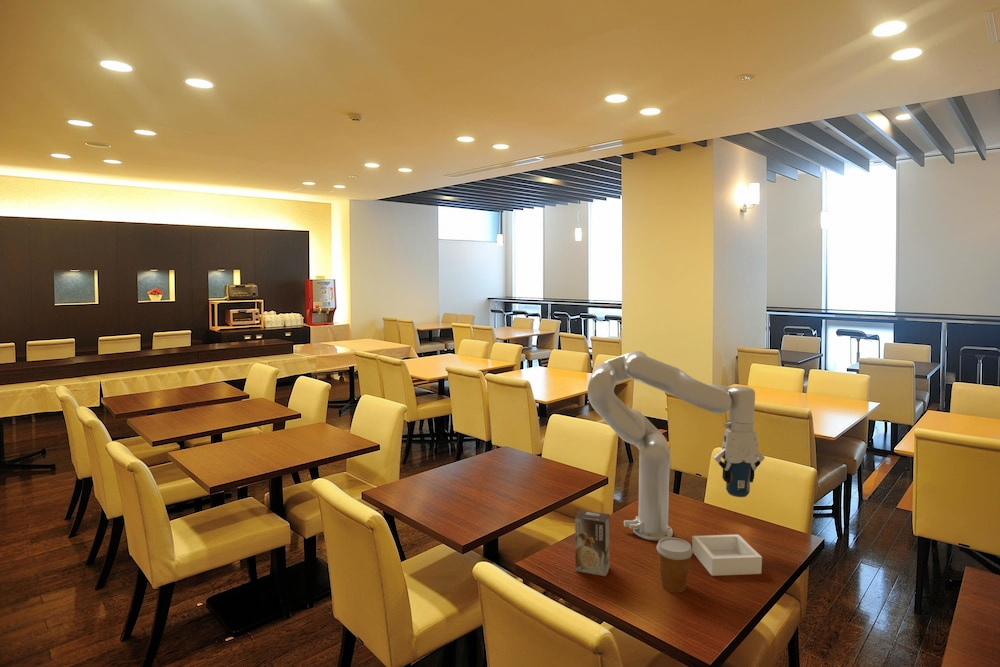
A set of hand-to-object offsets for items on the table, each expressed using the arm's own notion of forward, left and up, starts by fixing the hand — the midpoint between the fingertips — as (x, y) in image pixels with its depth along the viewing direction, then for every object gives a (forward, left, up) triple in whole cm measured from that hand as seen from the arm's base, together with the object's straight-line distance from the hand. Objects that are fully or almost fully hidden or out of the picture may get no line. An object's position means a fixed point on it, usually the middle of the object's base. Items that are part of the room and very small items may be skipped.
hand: (738, 480), depth 186 cm
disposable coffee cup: (-30, -26, -20) cm, 44 cm away
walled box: (-10, -14, -19) cm, 26 cm away
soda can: (0, 0, -5) cm, 5 cm away
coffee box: (-50, -15, -20) cm, 56 cm away
